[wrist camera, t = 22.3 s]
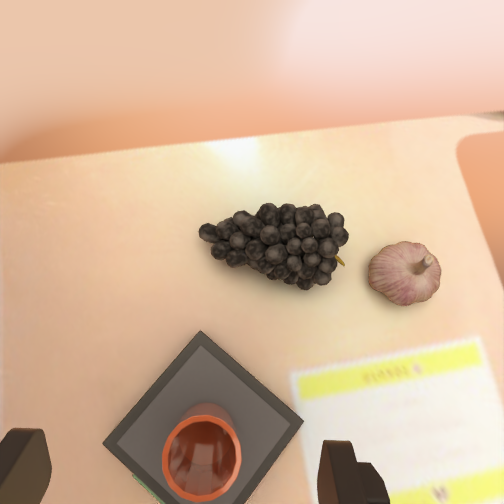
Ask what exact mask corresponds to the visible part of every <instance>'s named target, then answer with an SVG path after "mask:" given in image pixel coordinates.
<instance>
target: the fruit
mask: <svg viewBox="0 0 504 504" xmlns="http://www.w3.org/2000/svg"><path fill="white" fill-rule="evenodd" d="M343 226H344V217H343V216H342V215H341V214H340V213H336V212H334V213H331V214H330V215H329V216H328V218H327V217H326V216H325V214H324V211H323V209H322V208H321V206H320V205H317V204H313V205H311V206H310V207H307V206H303V207H298V208H296V207H295V206H294V205H293V204H283V205H282V206H281V207H279V208H277V207H276V206H275V205H274V204H272V203H266V204H263V205H262V206H261V207H260V209H259V211H258V212H257V213H256V215H255V216H252V215H250V214H249V213H247V212H246V211H238V212H236V213H235V214H234V216H233V218H232V217H230V218H228V219H225V220H224V221H222V222H219V223H218V224H217V226H214V225H212V224H209V223H207V224H204V225H202V226H201V227H200V229H199V237H200V238H202V239H203V240H204V241H206V242H209V243H214V244H213V246H212V247H211V254H212V256H213V257H214V258H215V259H218V260H223V259H226V262H227V264H228V265H229V266H230V267H233V268H235V267H239V266H242V265H245V264H246V263H247V264H248V265H249V266H250V267H251V268H253V269H258V271H259V272H260V273H263V274H266V275H267V277H268V278H269V279H271V280H276V279H281V280H284V282H285V283H287V284H295V283H296V284H297V285H298V287H299V288H300V289H302V290H308V289H310V288H311V287H313V283H315V284H319V285H327V284H328V283H329V282H330V281H331V273H332V272H333V271H334V270H335V269H336V267H337V261H338V262H339V263H340V264H341V265H343V266H345V264H344V262H343V261H342V260H341V259H340V258H339V257H338V256H337V255H336V254H337V253H338V251H339V248H338V247H341V246H343V245H344V244H345V243H346V242H347V240H348V238H349V234H348V232H347V231H346V230H345V229H344V228H343ZM313 236H314V238H312V237H313Z"/></svg>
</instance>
